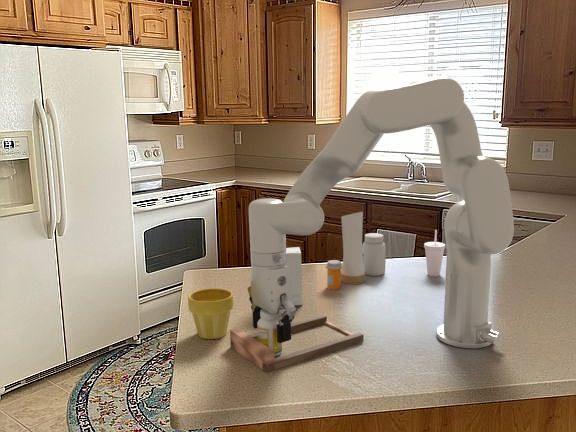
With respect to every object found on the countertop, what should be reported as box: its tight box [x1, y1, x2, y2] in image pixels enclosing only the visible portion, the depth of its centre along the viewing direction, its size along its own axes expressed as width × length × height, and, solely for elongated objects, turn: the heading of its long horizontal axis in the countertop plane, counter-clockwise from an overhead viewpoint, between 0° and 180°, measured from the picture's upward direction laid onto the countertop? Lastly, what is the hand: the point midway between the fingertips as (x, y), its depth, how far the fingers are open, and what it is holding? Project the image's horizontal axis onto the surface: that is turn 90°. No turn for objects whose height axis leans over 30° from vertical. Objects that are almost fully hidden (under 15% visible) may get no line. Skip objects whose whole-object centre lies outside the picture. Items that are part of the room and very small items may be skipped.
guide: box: [229, 314, 365, 373], centre depth 129 cm, size 15×26×4 cm, turn 124°
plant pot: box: [187, 287, 234, 340], centre depth 135 cm, size 10×10×10 cm
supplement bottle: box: [256, 309, 283, 358], centre depth 124 cm, size 5×5×10 cm
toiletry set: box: [325, 211, 387, 290], centre depth 173 cm, size 25×8×20 cm, turn 135°
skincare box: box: [286, 246, 304, 306], centre depth 154 cm, size 8×6×15 cm
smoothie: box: [423, 229, 446, 277], centre depth 177 cm, size 6×6×14 cm
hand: (271, 333), depth 125 cm, fingers open, 9 cm apart
